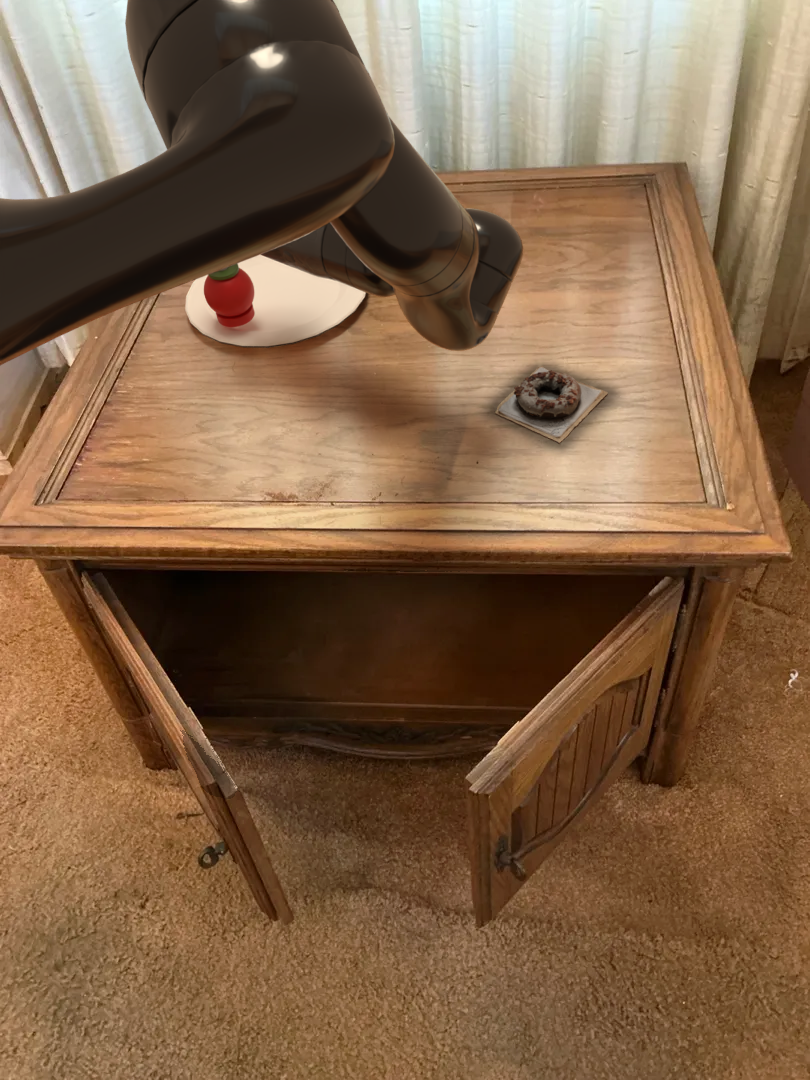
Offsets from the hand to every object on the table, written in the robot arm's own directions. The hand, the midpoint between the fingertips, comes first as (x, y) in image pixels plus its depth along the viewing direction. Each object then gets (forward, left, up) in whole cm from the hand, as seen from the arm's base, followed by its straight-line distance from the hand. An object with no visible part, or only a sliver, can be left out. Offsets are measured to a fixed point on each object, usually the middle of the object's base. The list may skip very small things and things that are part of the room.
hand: (178, 180), depth 81 cm
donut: (+24, -30, -17) cm, 42 cm away
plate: (+7, +1, -17) cm, 19 cm away
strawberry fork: (+1, -3, -14) cm, 15 cm away
